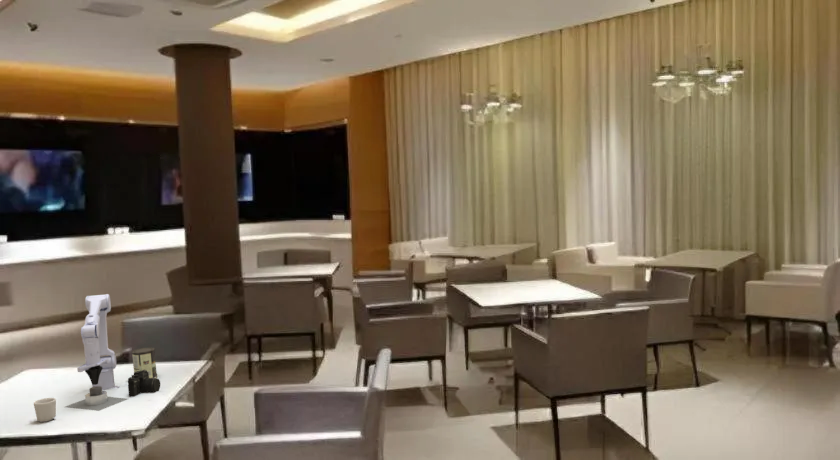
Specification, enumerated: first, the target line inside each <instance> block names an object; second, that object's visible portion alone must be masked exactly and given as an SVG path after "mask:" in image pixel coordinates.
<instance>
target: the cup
mask: <svg viewBox="0 0 840 460" xmlns="http://www.w3.org/2000/svg"><path fill="white" fill-rule="evenodd" d="M56 403H57V399H56V398H55V397H45V398H41V399H37V400H34V402H33V408H34V411H35V416H36V419H37V421H38V422H41V423H46V422H50V421H52V420H54V419H55V418H56V415H57V414H56V413H57V404H56Z"/></svg>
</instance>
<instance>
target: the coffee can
mask: <svg viewBox="0 0 840 460" xmlns="http://www.w3.org/2000/svg"><path fill="white" fill-rule="evenodd" d="M155 350H156V349H155V347H142V348H141V347H140V348H136V349H133V350H131V355H132V366H133V373H134V372H136V371H142V370H146V371H147V372H148V374H149V378H156V379H158V375H157V373H158V372H157V363H156V351H155Z"/></svg>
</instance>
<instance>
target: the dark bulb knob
mask: <svg viewBox="0 0 840 460" xmlns="http://www.w3.org/2000/svg"><path fill="white" fill-rule="evenodd" d="M102 391H103V390H102V387H101V386H96V387H92V386H91V387H89V393H90V395H99V394H101V393H102Z"/></svg>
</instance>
